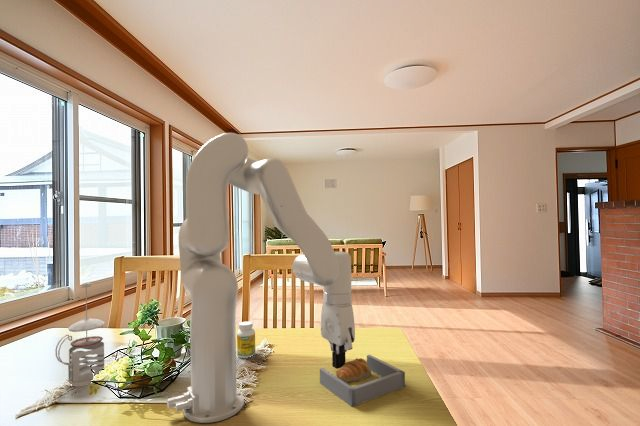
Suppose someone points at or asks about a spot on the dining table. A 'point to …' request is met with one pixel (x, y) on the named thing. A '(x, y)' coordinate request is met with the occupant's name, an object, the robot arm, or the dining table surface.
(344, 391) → the gray u-shaped fence
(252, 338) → the supplement bottle
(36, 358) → the dining table surface
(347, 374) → the pastry
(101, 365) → the french press
